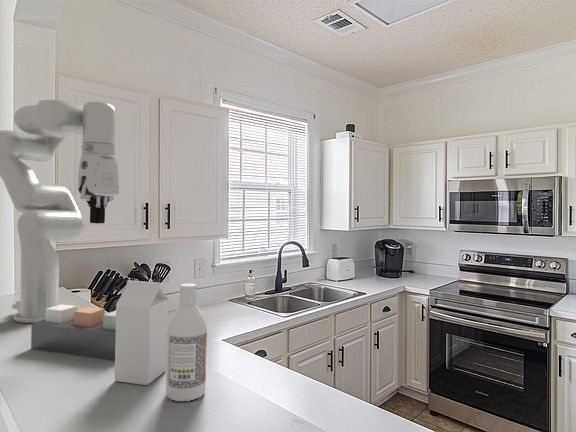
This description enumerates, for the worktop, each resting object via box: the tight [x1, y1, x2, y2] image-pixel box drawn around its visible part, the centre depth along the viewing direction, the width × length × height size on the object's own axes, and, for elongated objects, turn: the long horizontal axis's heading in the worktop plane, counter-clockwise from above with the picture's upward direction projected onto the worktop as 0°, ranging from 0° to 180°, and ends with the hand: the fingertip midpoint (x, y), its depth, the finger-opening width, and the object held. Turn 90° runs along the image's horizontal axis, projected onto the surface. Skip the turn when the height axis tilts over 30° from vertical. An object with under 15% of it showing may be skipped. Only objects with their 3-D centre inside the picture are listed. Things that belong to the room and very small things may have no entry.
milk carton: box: [114, 279, 169, 386], centre depth 79 cm, size 7×7×19 cm
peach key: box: [74, 306, 106, 327], centre depth 94 cm, size 5×5×6 cm
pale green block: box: [103, 310, 116, 330], centre depth 92 cm, size 5×5×6 cm
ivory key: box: [46, 304, 78, 323], centre depth 96 cm, size 5×5×6 cm
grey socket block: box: [30, 319, 116, 362], centre depth 94 cm, size 23×10×6 cm, turn 76°
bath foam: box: [165, 283, 208, 402], centre depth 72 cm, size 7×7×20 cm
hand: (97, 223), depth 103 cm, fingers closed
